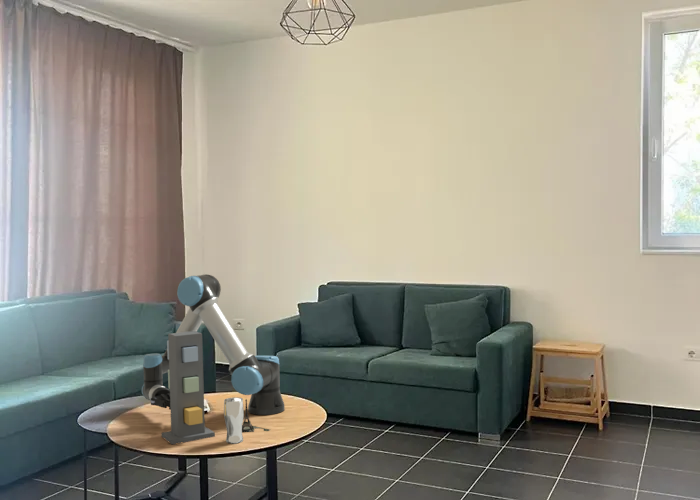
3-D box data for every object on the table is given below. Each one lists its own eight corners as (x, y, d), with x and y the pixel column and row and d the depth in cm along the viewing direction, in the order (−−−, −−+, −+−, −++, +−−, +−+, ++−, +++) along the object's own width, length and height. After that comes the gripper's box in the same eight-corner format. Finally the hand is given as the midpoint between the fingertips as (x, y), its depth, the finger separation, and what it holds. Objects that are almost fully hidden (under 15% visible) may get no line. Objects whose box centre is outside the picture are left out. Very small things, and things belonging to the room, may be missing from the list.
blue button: (167, 359, 257) (167, 340, 257) (185, 357, 261) (185, 338, 260) (182, 365, 243) (181, 346, 243) (200, 363, 247) (200, 343, 246)
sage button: (168, 388, 257) (167, 369, 257) (186, 385, 261) (186, 367, 261) (182, 396, 243) (182, 376, 243) (201, 393, 247) (201, 374, 247)
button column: (161, 436, 251) (158, 333, 250) (203, 429, 260) (200, 329, 259) (171, 444, 241) (168, 337, 240) (214, 436, 250) (211, 333, 249)
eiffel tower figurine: (272, 431, 256) (271, 396, 256) (252, 438, 248) (251, 401, 248) (244, 425, 266) (243, 391, 265) (224, 431, 258) (223, 396, 258)
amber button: (171, 418, 255) (171, 400, 255) (189, 415, 259) (189, 397, 258) (186, 428, 241) (185, 409, 241) (205, 425, 245) (204, 405, 245)
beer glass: (225, 438, 246) (224, 397, 246) (245, 437, 247) (243, 396, 247) (223, 444, 239) (222, 402, 239) (243, 443, 240) (242, 401, 240)
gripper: (176, 402, 281) (196, 414, 261) (144, 407, 274) (163, 420, 254) (176, 384, 281) (196, 394, 261) (144, 389, 274) (162, 400, 254)
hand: (179, 407), depth 258 cm, fingers closed
